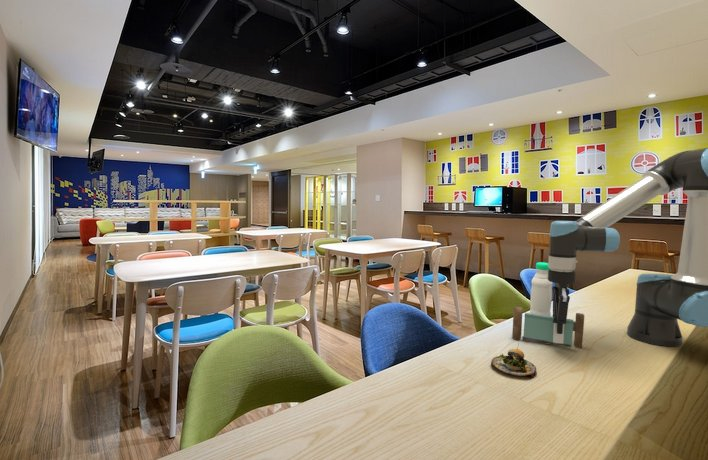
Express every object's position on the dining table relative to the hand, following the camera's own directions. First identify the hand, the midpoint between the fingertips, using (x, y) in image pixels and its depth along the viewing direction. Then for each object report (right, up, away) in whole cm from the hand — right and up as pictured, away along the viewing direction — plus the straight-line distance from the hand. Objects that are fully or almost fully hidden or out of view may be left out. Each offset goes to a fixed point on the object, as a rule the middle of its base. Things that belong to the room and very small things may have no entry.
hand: (558, 342), depth 118 cm
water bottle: (+4, -1, +20) cm, 21 cm away
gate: (-1, -1, +5) cm, 5 cm away
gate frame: (0, -2, +8) cm, 8 cm away
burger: (-20, -4, -13) cm, 24 cm away
